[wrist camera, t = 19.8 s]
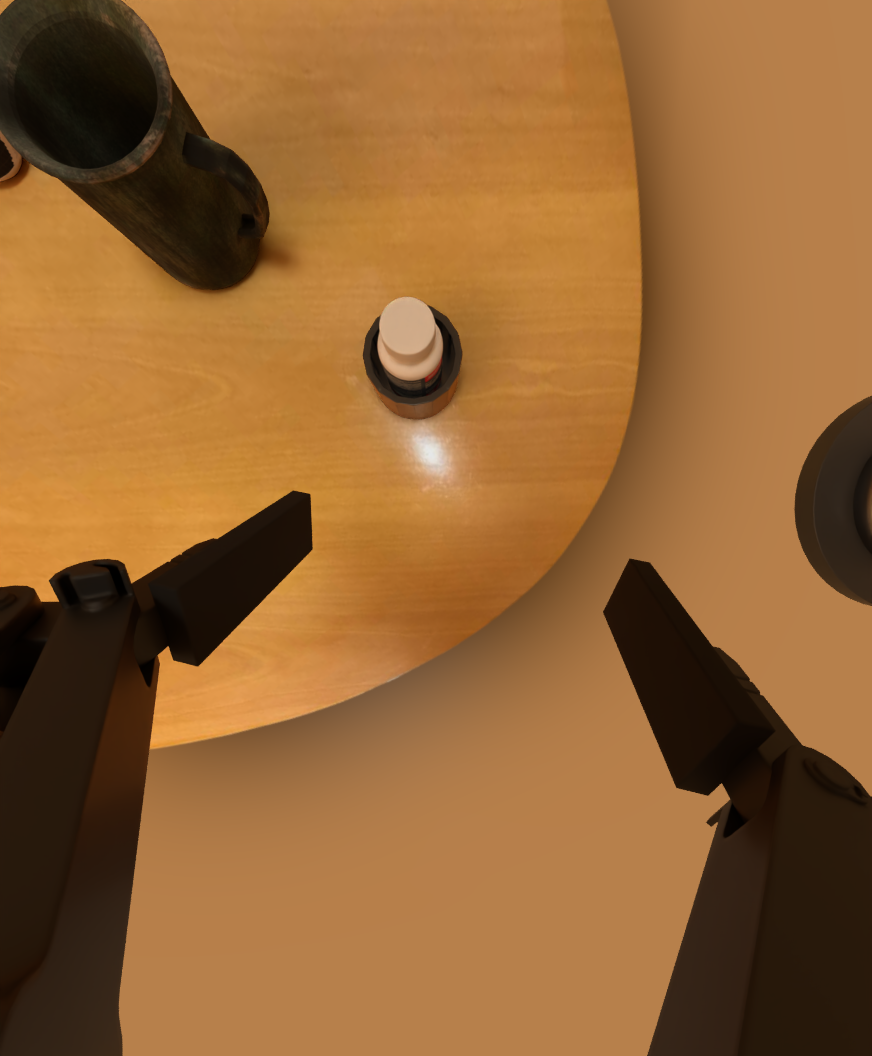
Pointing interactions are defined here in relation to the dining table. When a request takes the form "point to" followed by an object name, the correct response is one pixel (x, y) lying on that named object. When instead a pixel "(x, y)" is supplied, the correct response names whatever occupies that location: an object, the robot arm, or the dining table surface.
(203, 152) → the mug
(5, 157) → the beverage can
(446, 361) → the dark grey round container
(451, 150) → the dining table surface
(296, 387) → the dining table surface
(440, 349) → the pill bottle
